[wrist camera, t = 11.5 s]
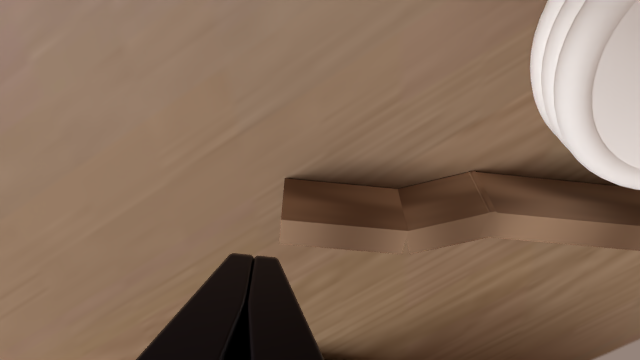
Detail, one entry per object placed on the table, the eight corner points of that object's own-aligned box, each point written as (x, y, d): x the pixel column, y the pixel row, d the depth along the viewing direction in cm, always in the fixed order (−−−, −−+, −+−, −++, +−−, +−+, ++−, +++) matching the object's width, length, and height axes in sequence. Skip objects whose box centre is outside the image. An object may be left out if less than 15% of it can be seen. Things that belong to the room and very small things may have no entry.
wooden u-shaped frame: (282, 200, 23) (278, 243, 20) (330, -286, 14) (333, -318, 11) (701, 239, 24) (746, 283, 22) (981, -180, 15) (1112, -187, 13)
